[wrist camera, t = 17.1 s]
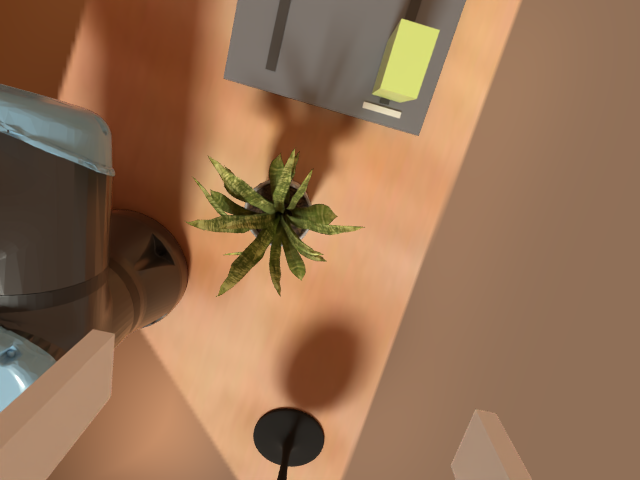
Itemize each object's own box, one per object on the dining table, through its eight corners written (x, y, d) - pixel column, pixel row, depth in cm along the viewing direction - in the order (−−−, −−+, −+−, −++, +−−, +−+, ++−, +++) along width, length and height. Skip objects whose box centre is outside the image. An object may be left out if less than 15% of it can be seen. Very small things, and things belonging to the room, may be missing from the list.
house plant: (342, 118, 42) (342, 119, 26) (367, 236, 46) (381, 297, 30) (219, 149, 44) (152, 168, 28) (254, 260, 48) (212, 330, 32)
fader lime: (371, 94, 39) (380, 88, 30) (387, 40, 37) (401, 18, 28) (400, 102, 39) (416, 99, 30) (417, 49, 37) (439, 30, 29)
